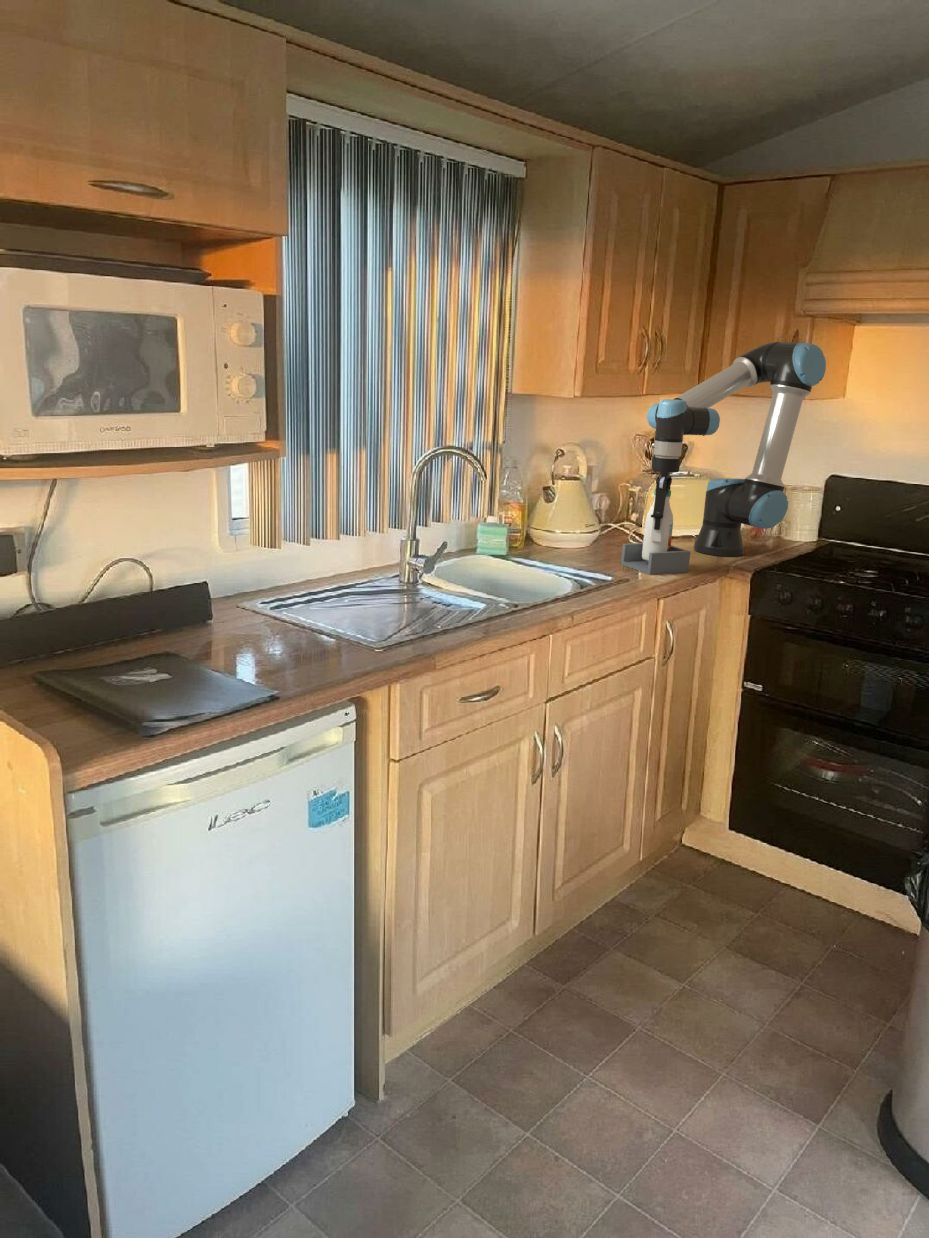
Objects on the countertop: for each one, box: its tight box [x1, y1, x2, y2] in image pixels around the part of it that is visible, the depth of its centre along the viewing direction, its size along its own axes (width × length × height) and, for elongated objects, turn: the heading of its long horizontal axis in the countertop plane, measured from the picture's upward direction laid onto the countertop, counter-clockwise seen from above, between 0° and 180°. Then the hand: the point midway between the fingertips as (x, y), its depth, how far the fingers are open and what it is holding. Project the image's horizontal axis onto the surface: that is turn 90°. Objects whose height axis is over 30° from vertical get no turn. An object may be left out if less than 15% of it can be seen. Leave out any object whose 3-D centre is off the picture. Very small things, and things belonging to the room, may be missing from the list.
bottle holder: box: [620, 542, 691, 575], centre depth 273 cm, size 13×13×6 cm
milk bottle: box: [642, 488, 674, 561], centre depth 271 cm, size 8×8×20 cm
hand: (657, 538), depth 272 cm, fingers closed on milk bottle, 7 cm apart
